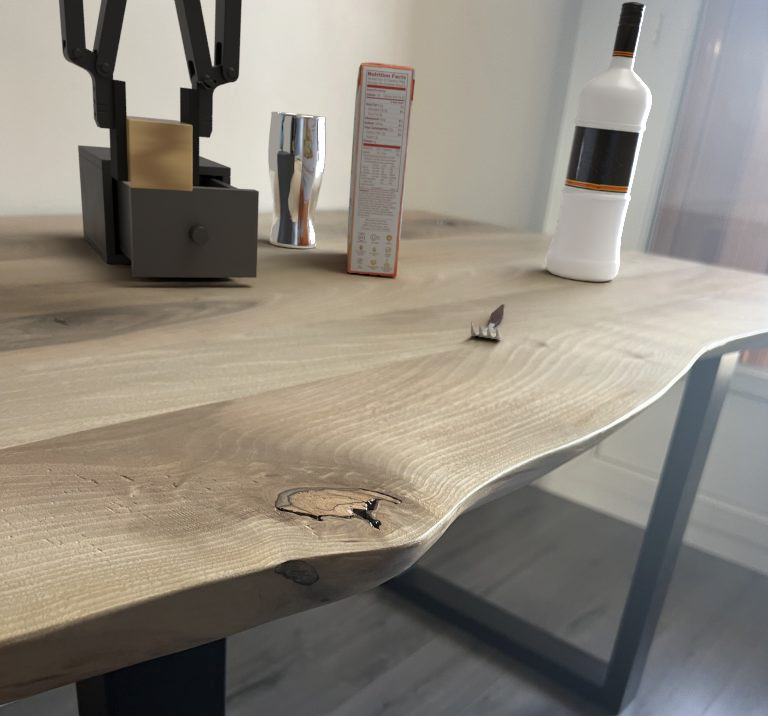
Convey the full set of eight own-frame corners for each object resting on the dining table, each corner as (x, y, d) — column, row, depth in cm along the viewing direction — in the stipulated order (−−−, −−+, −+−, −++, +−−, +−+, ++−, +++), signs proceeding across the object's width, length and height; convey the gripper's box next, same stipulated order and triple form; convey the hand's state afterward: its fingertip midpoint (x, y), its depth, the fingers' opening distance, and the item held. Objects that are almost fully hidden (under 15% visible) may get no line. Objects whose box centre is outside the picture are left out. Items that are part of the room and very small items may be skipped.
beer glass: (315, 241, 108) (323, 116, 101) (323, 250, 102) (331, 118, 95) (263, 237, 106) (266, 110, 100) (267, 247, 100) (272, 112, 94)
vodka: (534, 273, 103) (583, -7, 89) (554, 264, 110) (603, 6, 97) (606, 286, 99) (669, -2, 86) (622, 276, 107) (682, 10, 93)
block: (130, 187, 59) (128, 119, 57) (119, 179, 62) (116, 114, 60) (192, 191, 61) (192, 125, 59) (178, 183, 64) (177, 120, 62)
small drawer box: (229, 265, 88) (230, 167, 84) (106, 263, 83) (101, 159, 78) (193, 240, 100) (193, 153, 95) (83, 237, 94) (77, 145, 90)
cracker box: (343, 252, 103) (357, 63, 93) (391, 256, 103) (409, 69, 94) (343, 274, 90) (358, 58, 81) (397, 279, 91) (419, 65, 81)
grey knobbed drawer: (260, 280, 78) (263, 192, 75) (137, 280, 73) (133, 186, 70) (216, 250, 90) (217, 173, 86) (107, 248, 85) (103, 166, 81)
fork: (515, 312, 81) (519, 291, 81) (496, 350, 67) (500, 326, 67) (490, 308, 82) (493, 287, 81) (465, 345, 68) (468, 321, 67)
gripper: (-2, -281, 44) (35, 180, 55) (301, -194, 52) (282, 195, 62) (-10, -243, 50) (24, 166, 60) (263, -170, 58) (251, 182, 68)
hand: (155, 180), depth 61 cm, fingers closed on block, 4 cm apart
